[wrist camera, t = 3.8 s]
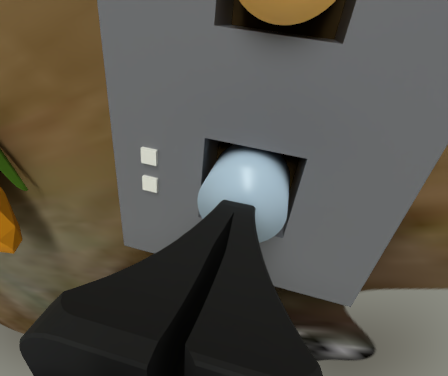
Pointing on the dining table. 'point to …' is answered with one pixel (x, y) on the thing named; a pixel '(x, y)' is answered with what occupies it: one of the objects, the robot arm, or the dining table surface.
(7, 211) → the corn
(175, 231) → the button console
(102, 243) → the dining table surface
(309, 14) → the orange button
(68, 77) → the dining table surface
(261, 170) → the blue button
